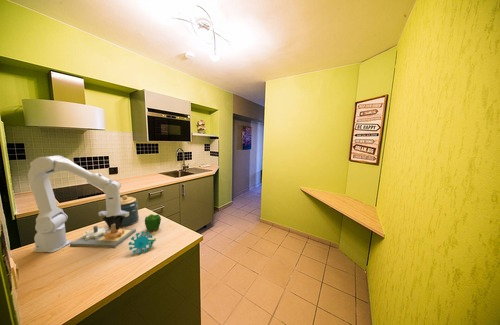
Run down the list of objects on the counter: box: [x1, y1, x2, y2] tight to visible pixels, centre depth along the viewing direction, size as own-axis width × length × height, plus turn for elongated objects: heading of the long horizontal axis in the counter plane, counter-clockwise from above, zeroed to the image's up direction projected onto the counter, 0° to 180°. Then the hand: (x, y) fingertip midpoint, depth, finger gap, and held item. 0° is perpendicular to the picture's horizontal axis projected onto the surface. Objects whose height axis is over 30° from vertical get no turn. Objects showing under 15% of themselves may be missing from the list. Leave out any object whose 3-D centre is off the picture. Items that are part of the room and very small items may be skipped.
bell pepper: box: [144, 213, 162, 232], centre depth 94 cm, size 8×8×10 cm
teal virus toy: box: [127, 230, 157, 255], centre depth 78 cm, size 11×6×10 cm
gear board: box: [69, 225, 137, 248], centre depth 84 cm, size 22×14×6 cm, turn 90°
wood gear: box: [104, 224, 124, 239], centre depth 84 cm, size 8×8×6 cm
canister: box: [114, 194, 140, 228], centre depth 100 cm, size 13×13×18 cm
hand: (115, 228), depth 85 cm, fingers closed on wood gear, 3 cm apart
